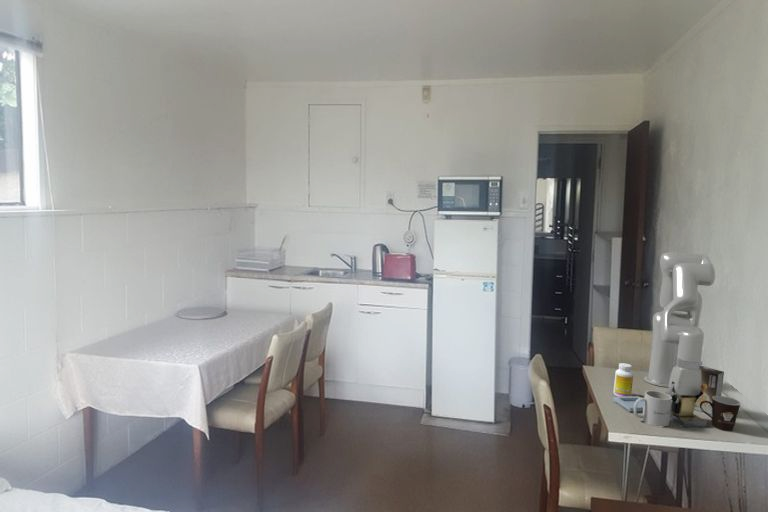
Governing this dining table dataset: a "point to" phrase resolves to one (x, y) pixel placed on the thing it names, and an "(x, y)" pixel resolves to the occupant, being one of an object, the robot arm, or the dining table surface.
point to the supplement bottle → (623, 380)
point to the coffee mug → (723, 412)
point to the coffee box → (709, 388)
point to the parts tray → (629, 403)
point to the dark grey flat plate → (688, 420)
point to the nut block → (685, 406)
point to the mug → (655, 408)
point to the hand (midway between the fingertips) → (682, 411)
